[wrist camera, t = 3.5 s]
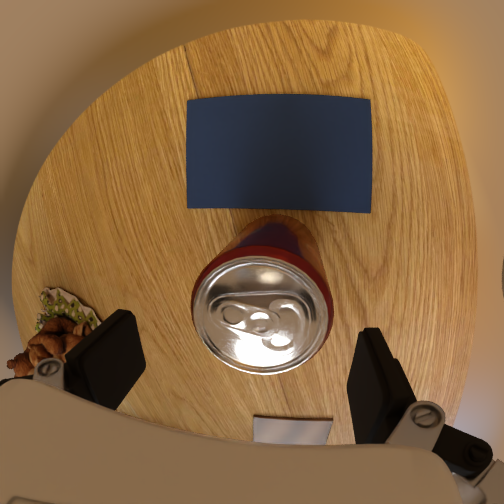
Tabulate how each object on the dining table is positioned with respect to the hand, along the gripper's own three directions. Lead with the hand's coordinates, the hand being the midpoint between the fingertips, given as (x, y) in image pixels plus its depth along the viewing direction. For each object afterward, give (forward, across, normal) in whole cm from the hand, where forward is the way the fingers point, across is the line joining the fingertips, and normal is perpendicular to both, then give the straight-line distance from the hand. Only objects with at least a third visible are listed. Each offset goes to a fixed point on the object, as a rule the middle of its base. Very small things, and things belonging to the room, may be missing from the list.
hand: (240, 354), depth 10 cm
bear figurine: (+15, +26, +13) cm, 33 cm away
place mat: (+15, -1, -9) cm, 17 cm away
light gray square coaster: (+14, -4, +26) cm, 30 cm away
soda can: (+15, -1, 0) cm, 15 cm away
